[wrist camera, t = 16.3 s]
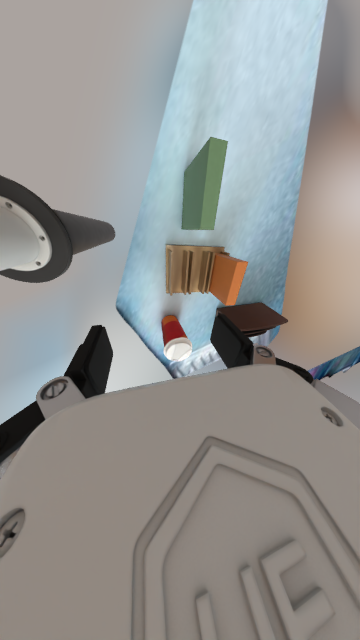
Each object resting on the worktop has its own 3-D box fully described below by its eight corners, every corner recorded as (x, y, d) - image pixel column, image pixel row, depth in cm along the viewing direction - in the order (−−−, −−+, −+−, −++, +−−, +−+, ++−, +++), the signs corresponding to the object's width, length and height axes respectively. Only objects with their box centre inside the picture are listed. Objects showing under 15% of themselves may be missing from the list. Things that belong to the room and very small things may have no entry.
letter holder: (216, 308, 50) (238, 330, 39) (261, 301, 54) (293, 320, 42) (213, 328, 55) (231, 354, 44) (253, 321, 59) (280, 343, 48)
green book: (181, 229, 33) (200, 228, 23) (184, 171, 28) (210, 136, 17) (191, 229, 34) (213, 229, 24) (196, 173, 28) (228, 140, 18)
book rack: (166, 292, 42) (168, 298, 38) (165, 244, 34) (168, 246, 30) (214, 290, 45) (221, 295, 41) (222, 246, 38) (232, 248, 34)
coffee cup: (173, 333, 52) (184, 364, 40) (154, 327, 48) (159, 360, 36) (184, 316, 48) (199, 345, 36) (164, 308, 45) (173, 337, 33)
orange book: (204, 287, 43) (225, 305, 32) (210, 252, 37) (237, 261, 27) (212, 287, 43) (234, 305, 33) (218, 253, 38) (248, 261, 27)
